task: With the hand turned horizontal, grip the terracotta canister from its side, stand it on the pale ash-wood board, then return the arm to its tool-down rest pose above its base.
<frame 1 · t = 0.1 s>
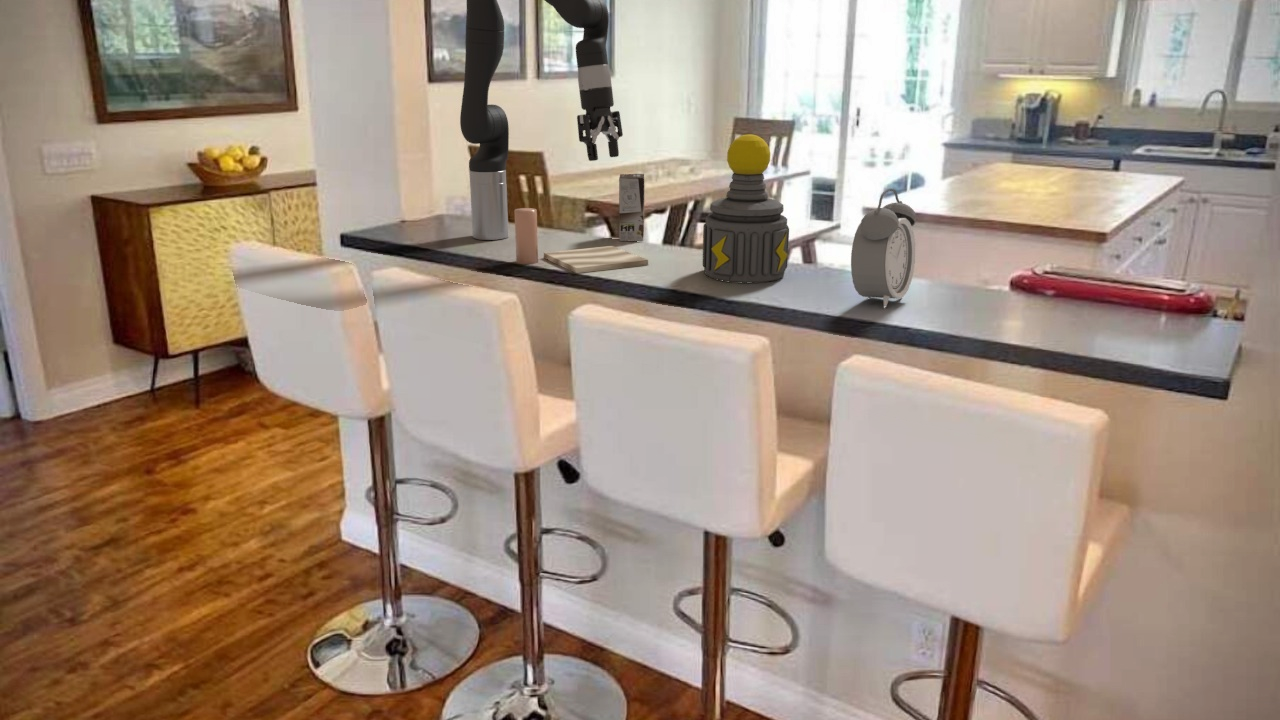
hand: (604, 158, 223), 22 cm above the breakfast bar, tool pointing down, fingers open, 8 cm apart
alarm clock: (880, 302, 187), on the breakfast bar
coffee box: (631, 238, 248), on the breakfast bar
ash board: (595, 261, 221), on the breakfast bar
terracotta canister: (527, 261, 220), on the breakfast bar
decorative lamp: (744, 275, 209), on the breakfast bar
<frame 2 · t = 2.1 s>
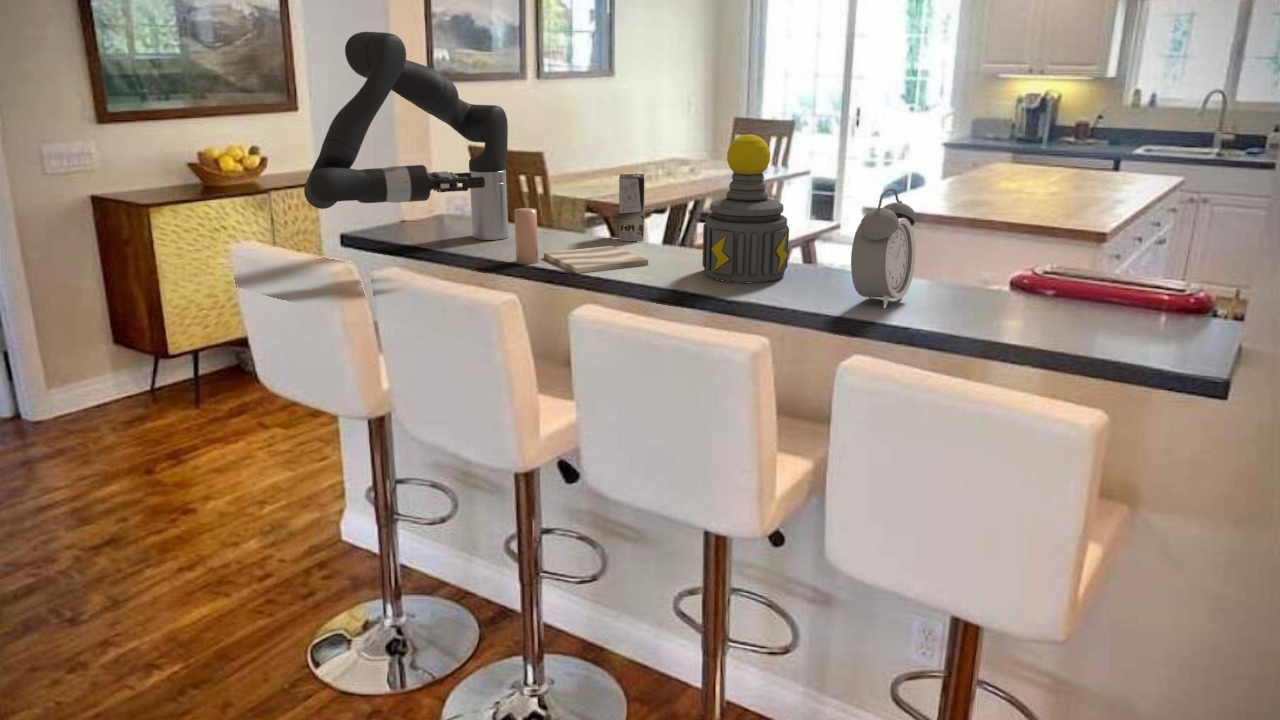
hand: (477, 179, 209), 19 cm above the breakfast bar, tool horizontal, fingers open, 8 cm apart
nothing on the breakfast bar moved.
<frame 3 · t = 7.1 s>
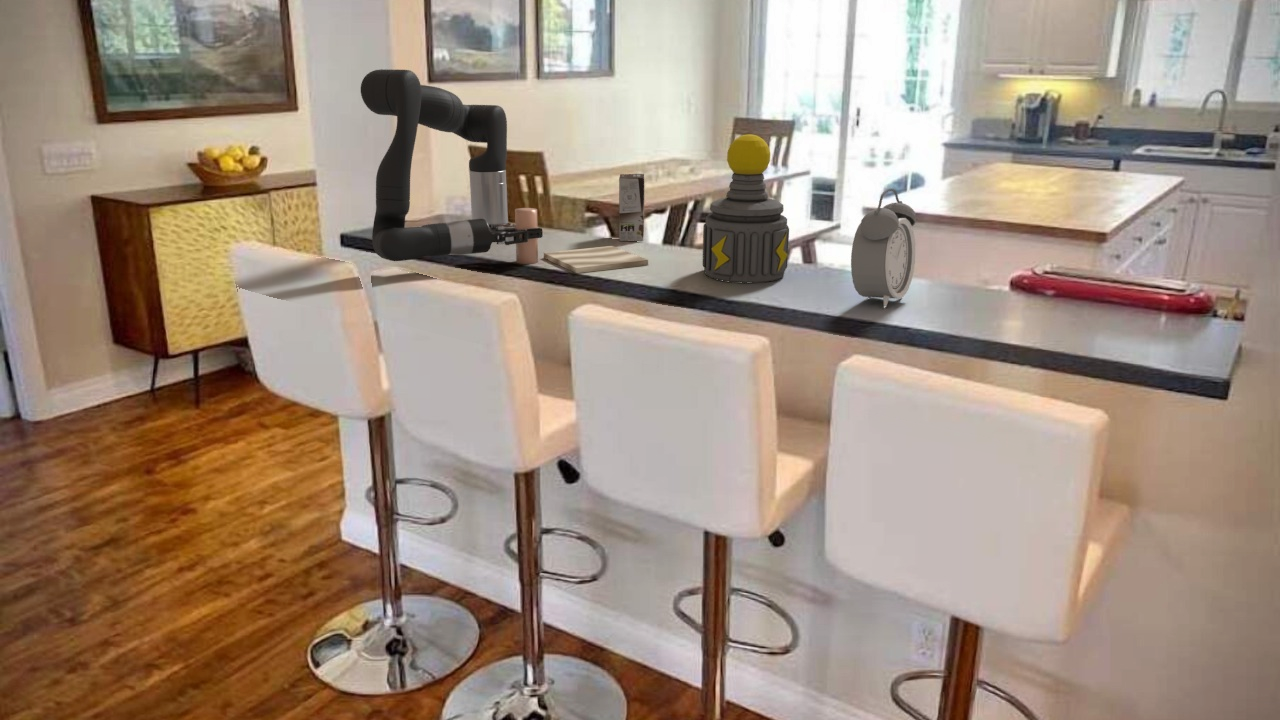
hand: (536, 230, 219), 7 cm above the breakfast bar, tool horizontal, fingers closed on terracotta canister, 5 cm apart
terracotta canister: (527, 261, 220), on the breakfast bar, touching gripper
everything else where it was.
when the fingers open (9 cm above the breakfast bar, at t = 13.3 s): terracotta canister drops 1 cm, resting on ash board.
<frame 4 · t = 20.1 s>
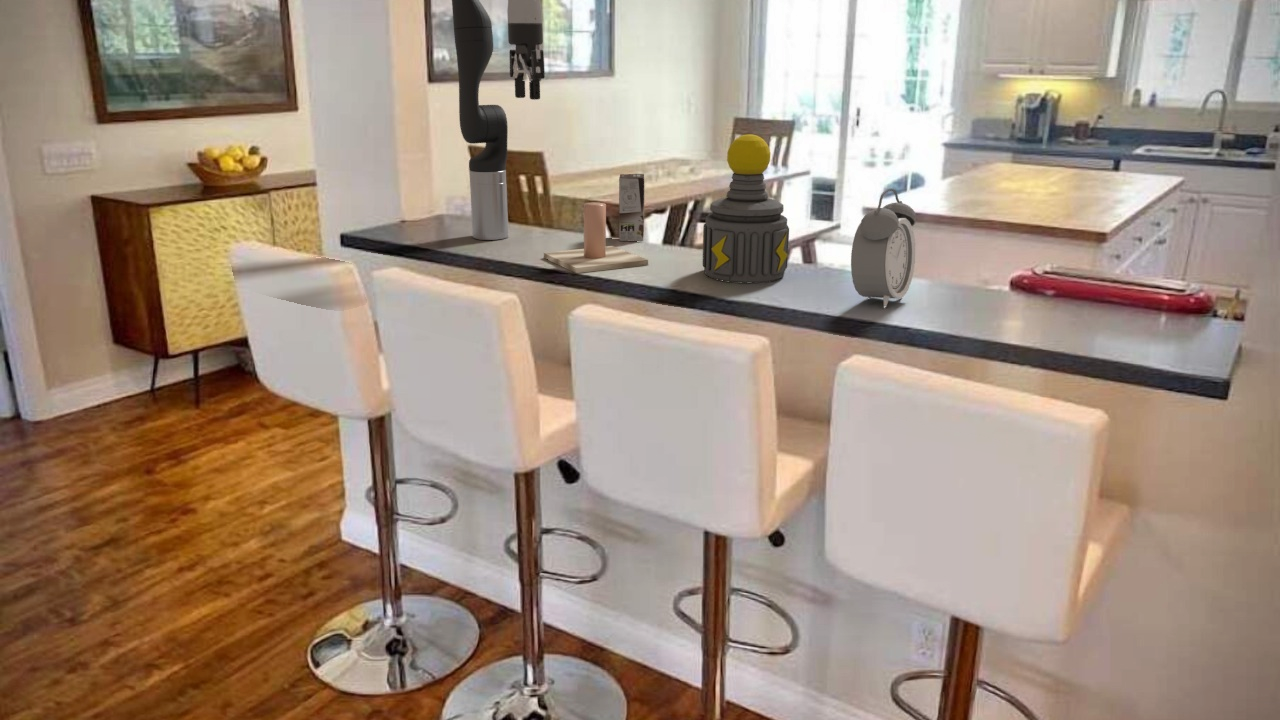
hand: (527, 98, 214), 36 cm above the breakfast bar, tool pointing down, fingers open, 8 cm apart
terracotta canister: (594, 256, 220), point 1 cm above the breakfast bar, touching ash board
everything else where it was.
at the end: terracotta canister inside the target area on the ash board (0.1 cm from its centre), point 1.2 cm above the ash board's base; terracotta canister tilted 1°; the gripper is holding nothing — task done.
